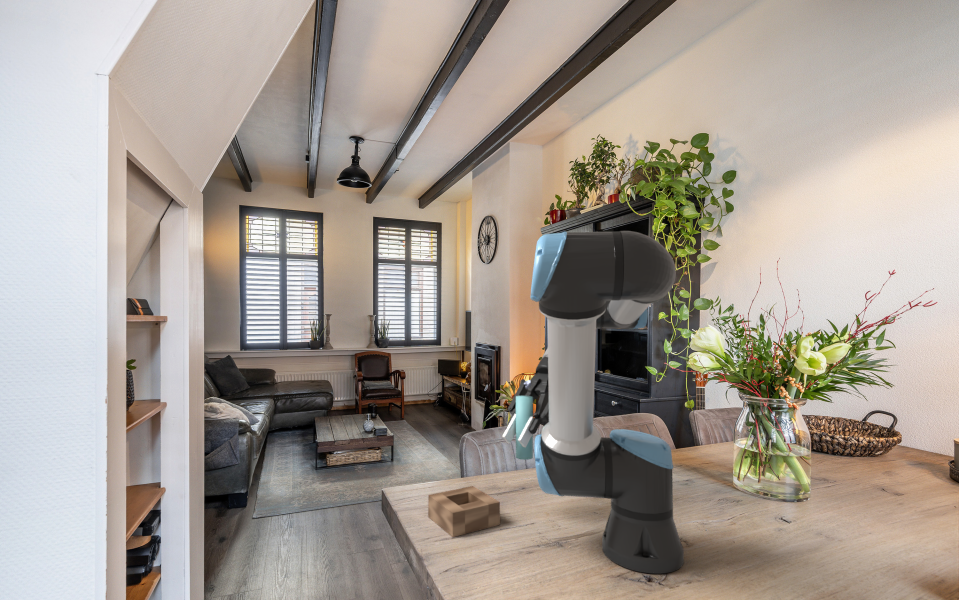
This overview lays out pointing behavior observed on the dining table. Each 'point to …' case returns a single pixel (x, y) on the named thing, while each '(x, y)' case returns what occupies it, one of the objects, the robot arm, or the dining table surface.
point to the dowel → (523, 425)
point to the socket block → (463, 510)
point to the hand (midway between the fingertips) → (513, 441)
